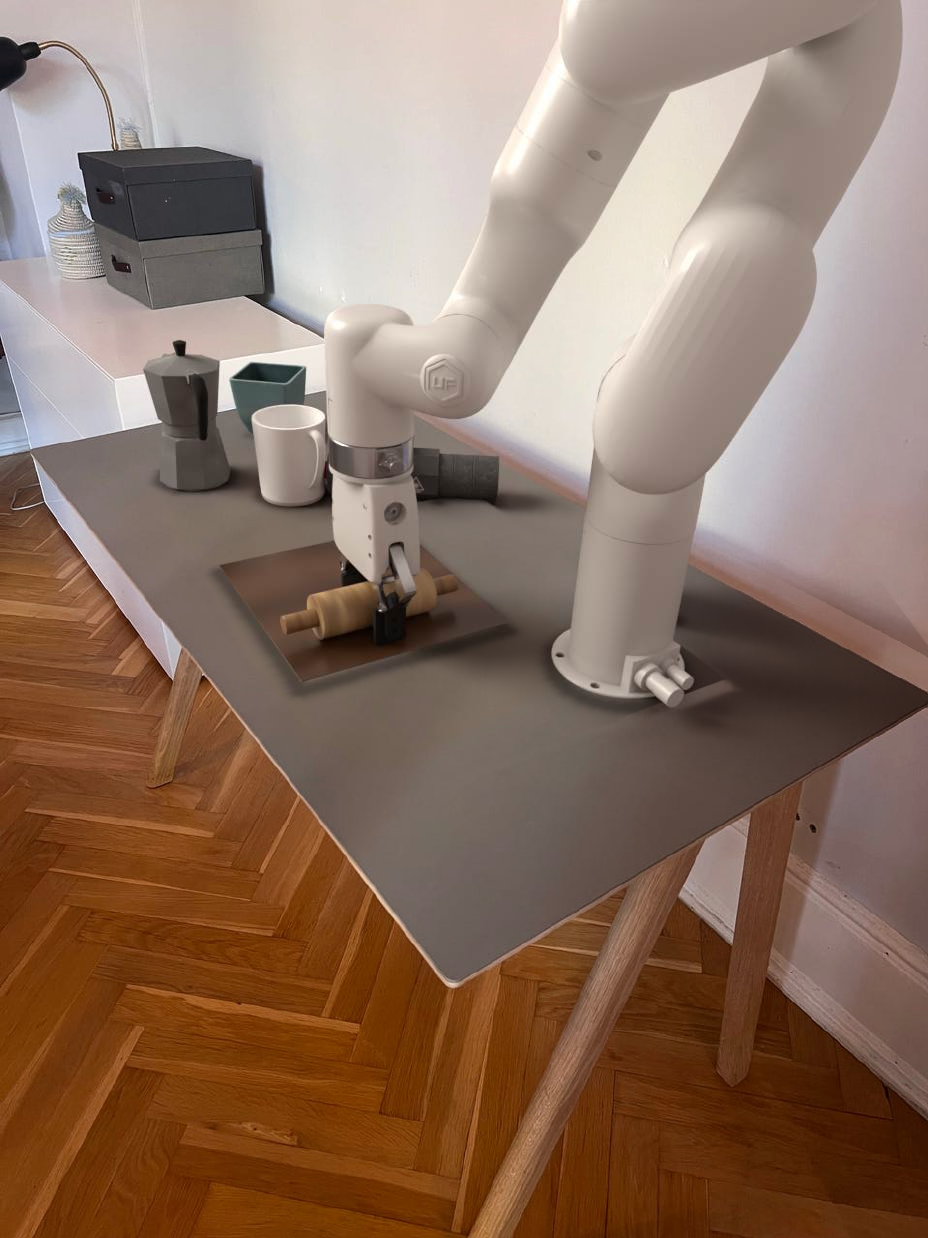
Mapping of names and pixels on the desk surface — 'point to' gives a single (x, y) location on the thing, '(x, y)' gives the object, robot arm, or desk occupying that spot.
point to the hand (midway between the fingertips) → (373, 621)
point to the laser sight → (448, 475)
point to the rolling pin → (361, 606)
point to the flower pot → (266, 388)
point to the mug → (290, 454)
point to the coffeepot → (188, 419)
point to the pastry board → (314, 569)
